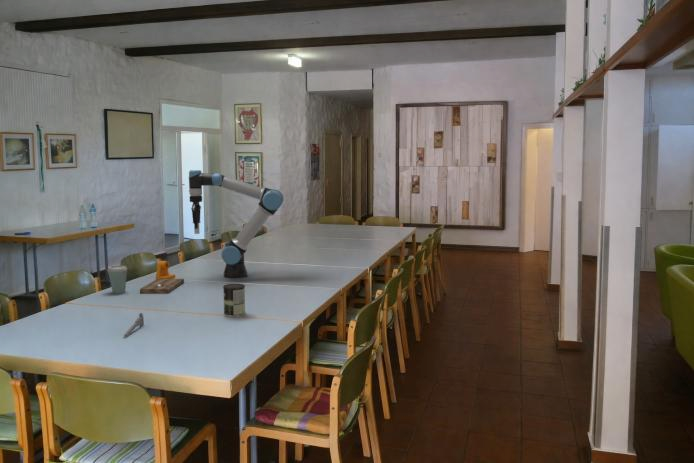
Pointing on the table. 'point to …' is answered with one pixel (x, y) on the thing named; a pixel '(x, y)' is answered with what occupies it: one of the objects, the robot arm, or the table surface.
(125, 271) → the disposable coffee cup
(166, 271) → the bracket
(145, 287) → the wooden board with holes
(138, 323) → the caliper
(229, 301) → the coffee can
